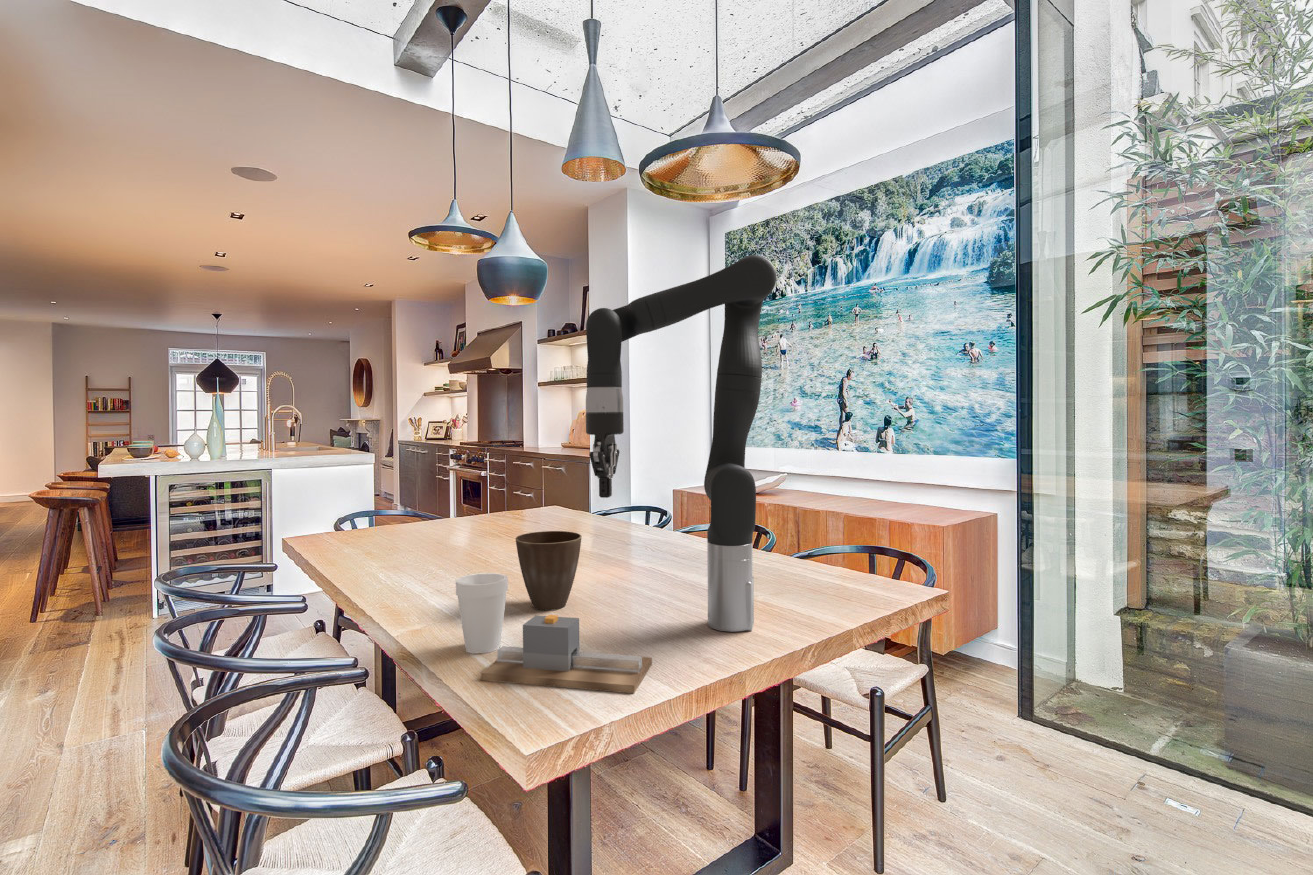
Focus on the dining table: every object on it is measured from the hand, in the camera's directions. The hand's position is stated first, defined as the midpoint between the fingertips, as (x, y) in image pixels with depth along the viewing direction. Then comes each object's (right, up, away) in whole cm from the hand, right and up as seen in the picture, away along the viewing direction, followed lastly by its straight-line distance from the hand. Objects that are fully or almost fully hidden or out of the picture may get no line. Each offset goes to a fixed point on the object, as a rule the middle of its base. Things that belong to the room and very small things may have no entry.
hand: (605, 497), depth 130 cm
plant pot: (-14, -27, +18) cm, 35 cm away
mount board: (-5, -28, -21) cm, 35 cm away
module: (-8, -26, -20) cm, 34 cm away
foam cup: (-22, -28, -8) cm, 37 cm away
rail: (-5, -26, -21) cm, 34 cm away
